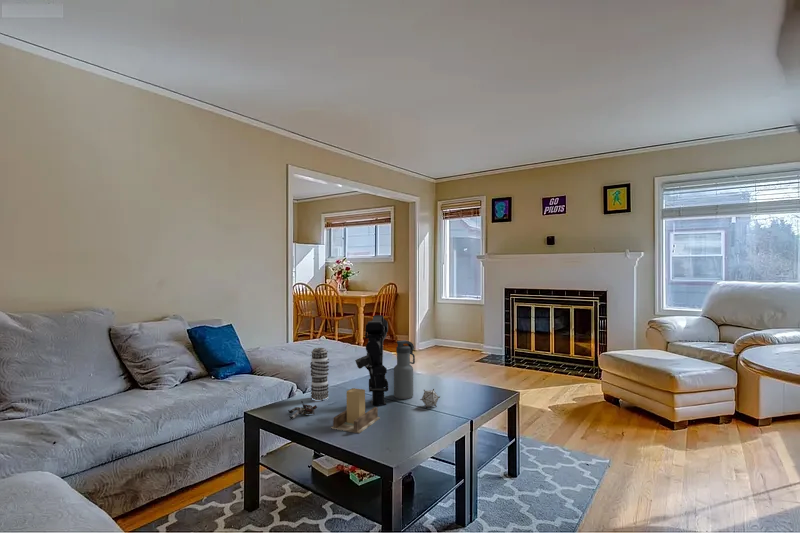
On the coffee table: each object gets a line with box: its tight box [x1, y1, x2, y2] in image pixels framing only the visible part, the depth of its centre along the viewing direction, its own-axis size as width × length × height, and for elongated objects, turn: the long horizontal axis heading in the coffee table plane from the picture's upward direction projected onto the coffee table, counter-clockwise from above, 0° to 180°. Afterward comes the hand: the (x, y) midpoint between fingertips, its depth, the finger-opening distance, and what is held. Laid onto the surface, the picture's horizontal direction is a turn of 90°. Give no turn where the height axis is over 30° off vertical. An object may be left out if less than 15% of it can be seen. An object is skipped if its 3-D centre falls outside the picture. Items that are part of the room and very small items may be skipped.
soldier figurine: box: [287, 400, 318, 420], centre depth 190 cm, size 8×11×12 cm
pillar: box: [346, 387, 366, 424], centre depth 180 cm, size 5×6×13 cm
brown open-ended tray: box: [330, 406, 380, 434], centre depth 180 cm, size 18×13×5 cm
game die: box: [419, 388, 441, 409], centre depth 201 cm, size 9×8×10 cm
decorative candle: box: [309, 347, 330, 400], centre depth 215 cm, size 9×9×25 cm
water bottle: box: [393, 339, 416, 400], centre depth 218 cm, size 10×10×28 cm
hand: (375, 385), depth 191 cm, fingers open, 9 cm apart
